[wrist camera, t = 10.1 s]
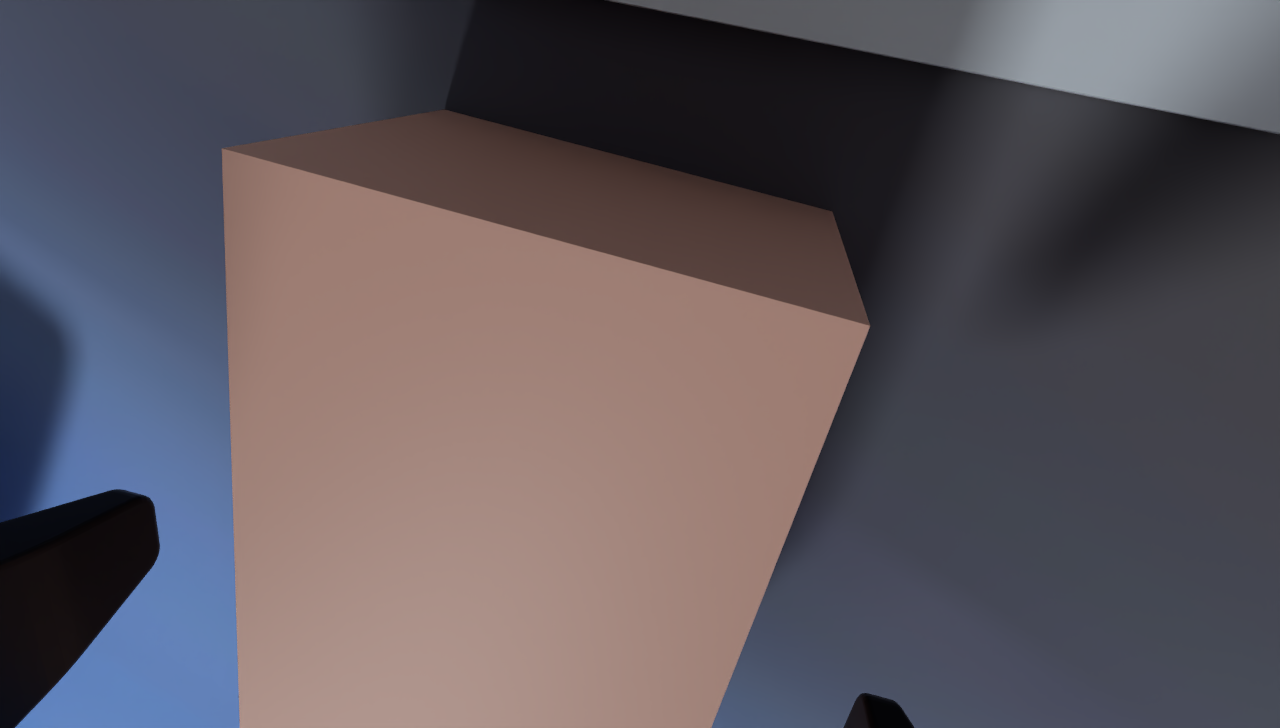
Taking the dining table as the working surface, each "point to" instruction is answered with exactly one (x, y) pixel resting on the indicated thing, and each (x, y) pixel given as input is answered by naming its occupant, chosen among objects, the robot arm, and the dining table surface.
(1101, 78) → the blueprint board
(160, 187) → the dining table surface
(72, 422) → the dining table surface
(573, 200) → the brick
